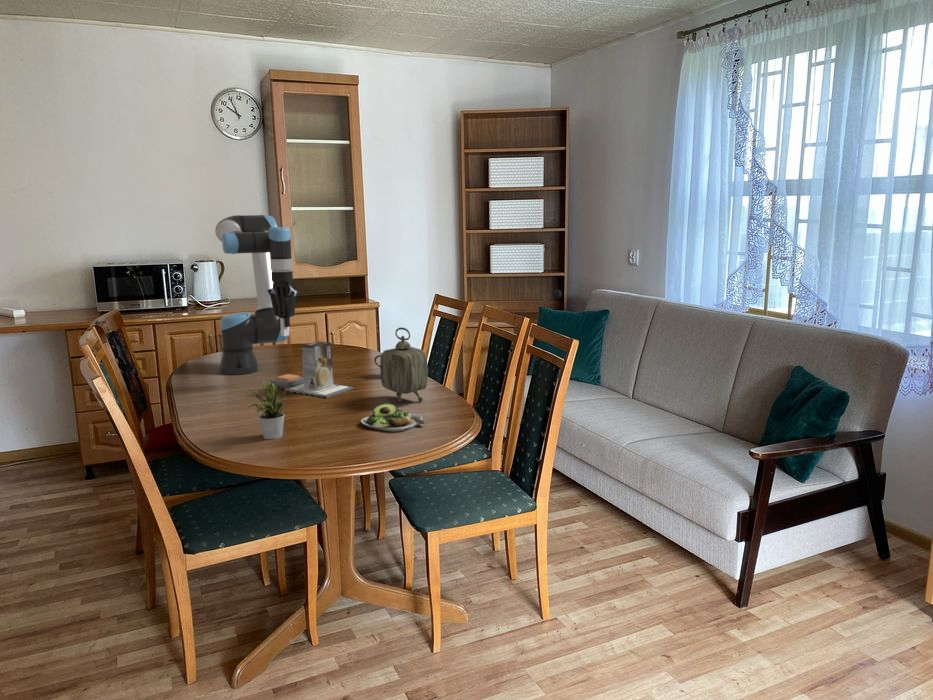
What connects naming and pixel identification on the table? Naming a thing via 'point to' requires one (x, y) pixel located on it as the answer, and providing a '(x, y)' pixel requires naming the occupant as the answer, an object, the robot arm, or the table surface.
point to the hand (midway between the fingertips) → (285, 335)
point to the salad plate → (391, 419)
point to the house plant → (270, 412)
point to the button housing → (287, 382)
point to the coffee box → (317, 365)
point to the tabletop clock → (404, 368)
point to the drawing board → (323, 393)
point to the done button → (288, 377)
